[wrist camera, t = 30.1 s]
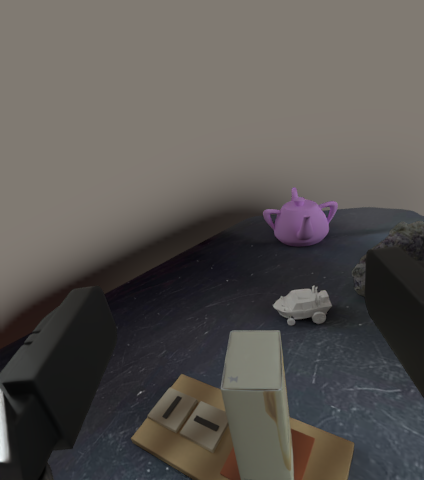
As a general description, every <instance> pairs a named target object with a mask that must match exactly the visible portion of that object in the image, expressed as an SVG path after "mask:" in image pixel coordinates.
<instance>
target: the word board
mask: <svg viewBox="0 0 424 480" xmlns="http://www.w3.org/2000/svg"><path fill="white" fill-rule="evenodd" d="M147 416H148V418H147V419H146V420H145V421H144V423H143V424H142V425H141V426H140V428H139V429H138V430H137V431H136V433H135V434H134V435H133V437H132V438H131V439H132V441H133V443H134V444H136V445H137V446H139V447H141V448H142V449H144V450H145V451H147V452H149V453H150V454H152V455H154V456H155V457H157V458H159V459H160V460H162V461H164V462H165V463H167V464H168V465H170V466H172V467H173V468H175V469H177V470H178V471H180V472H182V473H183V474H185V475H186V476H188V477H190V478H191V479H193V480H241V478H240V474H239V469H238V465H237V460H236V456H235V451H234V447H233V442H232V438H231V433H230V429H229V424H228V420H227V415H226V411H225V406H224V402H223V397H222V392H221V390H220V389H218V388H215V387H213V386H210V385H208V384H205V383H203V382H200V381H198V380H195V379H193V378H190V377H188V376H185V375H183V374H181V376H180V377H179V378H178V379H177V381H176V382H175V383H174V384H173V386H172V387H171V388H169V389H168V390H167V391H166V393H165V394H164V395H163V396H162V398H161V399H160V400H159V401H158V403H157V404H156V405H155V406H154V408H153V409H152V410H151V412H150V413H149V414H148V415H147ZM290 427H291V437H292V448H293V465H294V480H348V475H349V470H350V465H351V461H352V456H353V451H354V443H353V442H351V441H348V440H346V439H343V438H341V437H338V436H336V435H333V434H331V433H328V432H326V431H323V430H321V429H318V428H316V427H313V426H311V425H308V424H306V423H303V422H301V421H298V420H295V419H293V418H290Z"/></svg>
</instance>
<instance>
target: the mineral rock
mask: <svg viewBox="0 0 424 480" xmlns="http://www.w3.org/2000/svg"><path fill="white" fill-rule="evenodd" d="M393 246H399V247H400V248H402V249H403V250H404V251H405V252H406V253H407V254H408V255H409V256H411V257H412V258H413V259H414V260H415V261H421V260H422V261H424V222H422V221H417V222H415V223H412V224H407V223H405V222H400V223H398V224H397V225H396V226H395V227H394V228H393V229H392V230H390V233H389V236H387V237H386V238H385V240H383V241H381V242H380V243H379V244H378V245H376V246H374V247H373V248H372V249H378V248H385V247H393ZM365 269H366V255H364V256H363V257H362V258H361V260H360V262H359V263H358V264H357V265H356V266H355V268H354V269H353V270H352V276H353V279H354V289H355V291H356V292H357V293H358V294H359V295H361V296H364V297H365Z"/></svg>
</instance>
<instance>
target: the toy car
mask: <svg viewBox="0 0 424 480" xmlns="http://www.w3.org/2000/svg"><path fill="white" fill-rule="evenodd" d="M314 287H315V286H312V291H311V289H299V290H293V291H291V292H290V293H289V294H288V295H287V296H285V297H282V296H280V299H279V300H277V301H276V302H275V304H274V305H273V307H274V308H275V309H276V310H277V311H278V312H279V314H280V315H282V316H284V317H286V318H288V320H287V323H288V325H291V326H292V325H294V324H295V320H294V319H304V318H309V317H312V320H313V322H315V323H317V324H321V323H323V322H324V321H325V320H326V315H325V314H327V311H328V310H329V309H330V307H332V305H331V303H330V301H329V296H328V294H327V292H326V290H323V291H320V292H319V293H317V288H318V287H315V288H314ZM314 289H315V293H314ZM289 316H290V317H289ZM291 316H293V317H294V319H293V318H291Z"/></svg>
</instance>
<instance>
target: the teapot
mask: <svg viewBox="0 0 424 480" xmlns="http://www.w3.org/2000/svg"><path fill="white" fill-rule="evenodd" d="M324 207H330V212H329V215H328V217H327V218H326V216H325V214H324V213H323V211H322V210H321V208H324ZM336 210H337V203H336V202H335V201H330V202H326V203H323V204H320V205H317V204H316V203H315V202H314V201H311V200H305V198H303V197H298V194H297V189H296V188H295V187H293V188H292V200H291V201H290V202H288V203H286V204H284V205H283V207H282V208H281V210H274V209H267V210H265V211H264V212H263V216H264V218H265V220H266V222H267V223H268V224H269V225H270V226H271V228H272V229H273V230H274V234H275V236H276V238H277V239H278V240H280V241H281V242H282V243H284V244H286V245H289V246H296V247H302V246H310V245H314V244H316V243H319V242H320V241H321V240H322V239H324V238H325V236H326V235H327V234H328V232H329V225H328V224H329V222H330V221H331V219H332V218H333V216H334V214H335V213H336ZM270 214H278V215H277V218H276V220H275V225H274V224H273V222H272V220H271V218H270Z"/></svg>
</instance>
